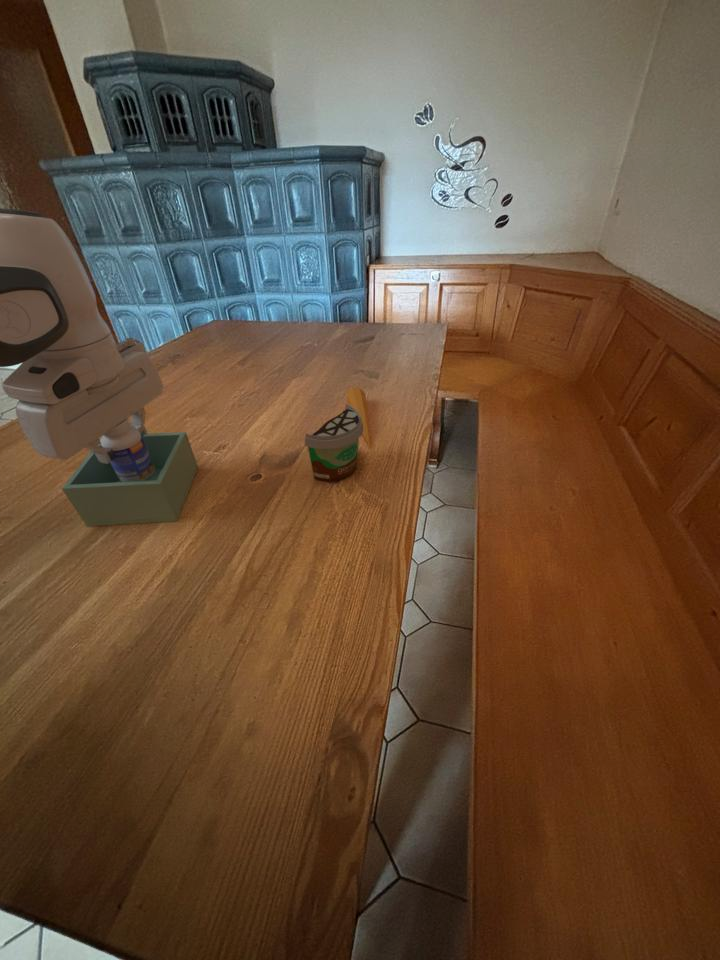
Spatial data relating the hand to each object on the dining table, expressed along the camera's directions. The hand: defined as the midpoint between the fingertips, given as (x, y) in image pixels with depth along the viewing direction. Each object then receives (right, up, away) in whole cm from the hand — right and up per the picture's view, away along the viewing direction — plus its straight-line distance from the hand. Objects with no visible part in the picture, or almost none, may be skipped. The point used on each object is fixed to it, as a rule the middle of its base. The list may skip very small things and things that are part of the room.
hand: (124, 447), depth 58 cm
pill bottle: (0, -4, +3) cm, 5 cm away
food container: (+33, -3, +11) cm, 35 cm away
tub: (0, -7, +6) cm, 10 cm away
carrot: (+36, +7, +24) cm, 44 cm away
